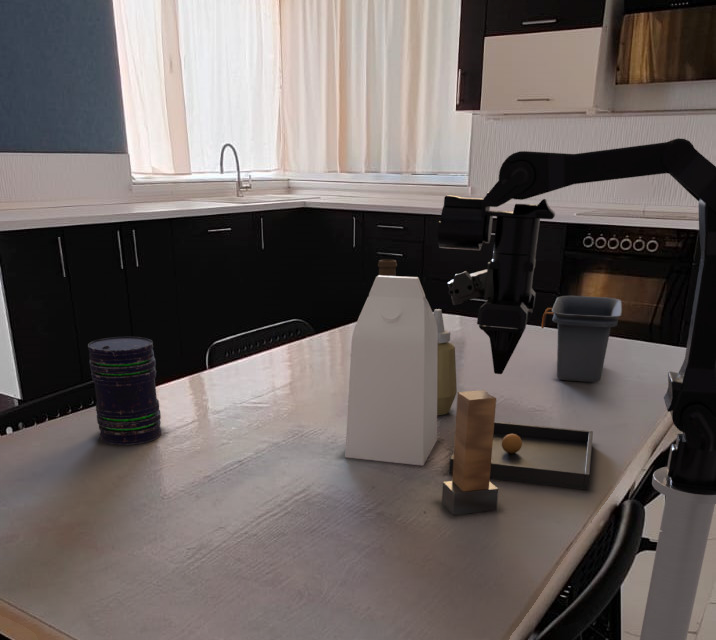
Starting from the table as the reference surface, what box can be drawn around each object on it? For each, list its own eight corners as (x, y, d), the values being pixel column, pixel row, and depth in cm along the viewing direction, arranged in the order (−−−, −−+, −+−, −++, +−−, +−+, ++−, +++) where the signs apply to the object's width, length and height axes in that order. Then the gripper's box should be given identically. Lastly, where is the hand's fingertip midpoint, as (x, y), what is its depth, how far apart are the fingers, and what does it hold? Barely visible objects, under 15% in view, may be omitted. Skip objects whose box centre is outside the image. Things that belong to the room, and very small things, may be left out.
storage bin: (612, 388, 153) (622, 315, 147) (533, 381, 157) (540, 310, 151) (612, 363, 171) (621, 298, 166) (541, 358, 175) (548, 294, 170)
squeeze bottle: (419, 419, 133) (423, 315, 126) (404, 406, 140) (407, 306, 133) (462, 416, 135) (469, 313, 128) (445, 403, 142) (451, 304, 135)
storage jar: (132, 421, 131) (122, 334, 125) (175, 431, 126) (166, 341, 120) (86, 438, 123) (72, 345, 117) (130, 449, 119) (118, 353, 113)
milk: (436, 440, 123) (445, 273, 113) (423, 465, 113) (431, 284, 103) (364, 433, 126) (367, 270, 116) (344, 457, 116) (345, 280, 106)
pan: (591, 444, 122) (592, 431, 121) (587, 490, 105) (589, 474, 104) (470, 432, 127) (471, 419, 126) (449, 473, 110) (449, 458, 109)
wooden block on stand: (483, 498, 103) (492, 388, 97) (496, 510, 99) (506, 397, 93) (441, 502, 101) (447, 392, 95) (453, 515, 98) (460, 401, 92)
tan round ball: (521, 450, 118) (523, 432, 117) (519, 457, 115) (521, 438, 114) (502, 448, 119) (503, 430, 118) (499, 455, 116) (501, 436, 115)
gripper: (465, 242, 114) (456, 346, 120) (443, 256, 98) (434, 376, 104) (541, 247, 111) (528, 353, 118) (532, 262, 95) (517, 384, 101)
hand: (501, 365), depth 110 cm, fingers open, 9 cm apart
